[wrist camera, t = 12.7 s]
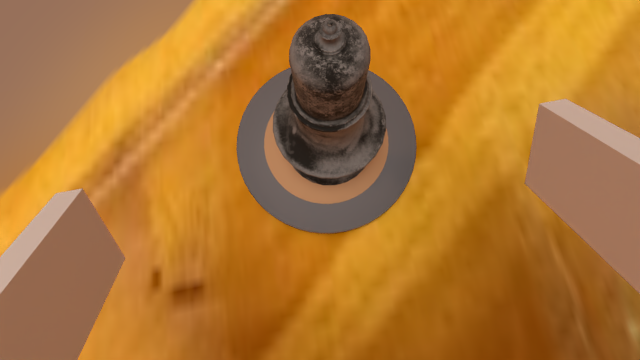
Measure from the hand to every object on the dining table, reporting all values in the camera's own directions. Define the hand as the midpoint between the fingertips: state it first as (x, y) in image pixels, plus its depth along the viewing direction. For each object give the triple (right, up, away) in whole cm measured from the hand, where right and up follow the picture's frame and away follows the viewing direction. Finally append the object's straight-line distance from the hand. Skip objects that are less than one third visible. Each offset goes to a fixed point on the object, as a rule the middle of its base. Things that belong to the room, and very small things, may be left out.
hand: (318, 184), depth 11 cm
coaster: (0, +2, +12) cm, 13 cm away
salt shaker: (+1, +2, +12) cm, 12 cm away
